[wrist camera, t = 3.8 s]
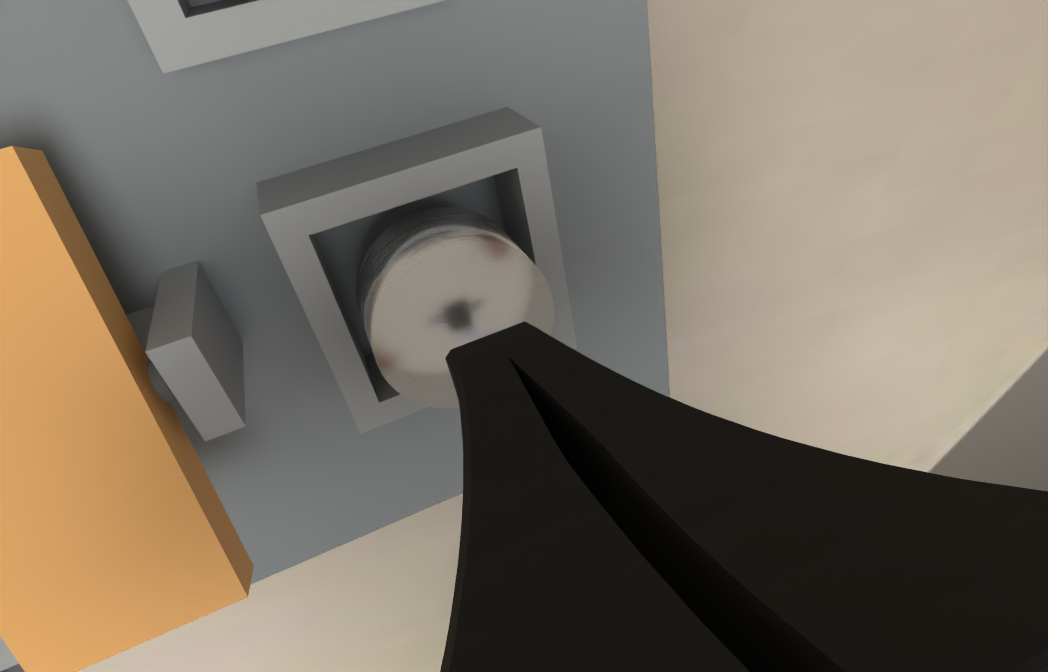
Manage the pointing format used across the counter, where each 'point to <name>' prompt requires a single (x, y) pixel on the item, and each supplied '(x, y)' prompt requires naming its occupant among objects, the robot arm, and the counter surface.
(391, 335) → the button round
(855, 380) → the counter surface
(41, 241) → the rocker
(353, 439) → the console
